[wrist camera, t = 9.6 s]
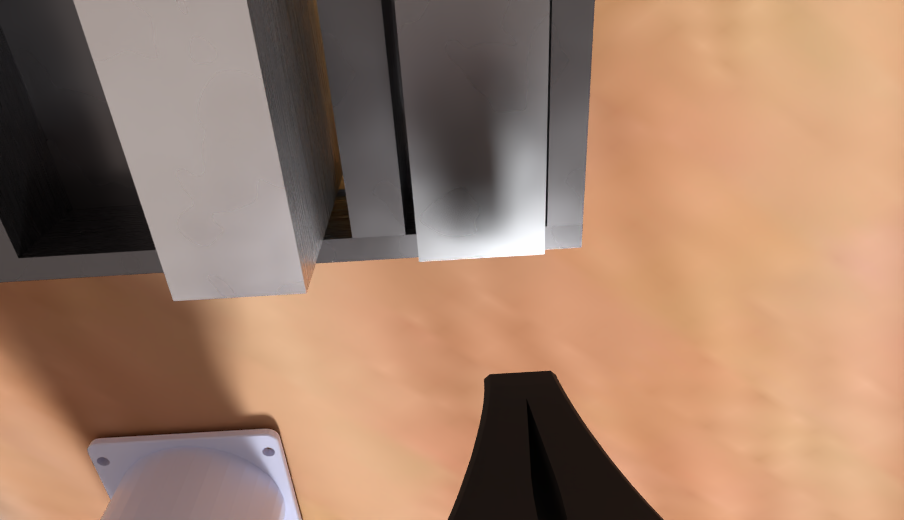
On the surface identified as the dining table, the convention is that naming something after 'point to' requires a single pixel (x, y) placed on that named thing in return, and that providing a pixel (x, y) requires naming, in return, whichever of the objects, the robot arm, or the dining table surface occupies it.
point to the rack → (357, 126)
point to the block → (223, 136)
